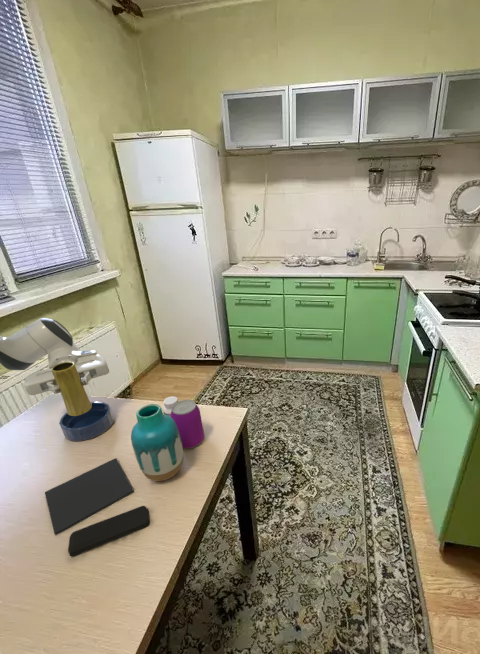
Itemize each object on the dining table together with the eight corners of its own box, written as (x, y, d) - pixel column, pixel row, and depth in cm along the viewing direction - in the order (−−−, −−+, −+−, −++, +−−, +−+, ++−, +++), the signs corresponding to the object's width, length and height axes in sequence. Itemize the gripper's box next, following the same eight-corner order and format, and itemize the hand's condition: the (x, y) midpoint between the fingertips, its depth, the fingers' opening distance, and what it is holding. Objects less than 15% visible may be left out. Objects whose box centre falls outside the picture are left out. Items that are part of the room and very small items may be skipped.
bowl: (69, 448, 90) (64, 436, 88) (61, 426, 99) (55, 414, 97) (119, 427, 98) (115, 415, 96) (107, 408, 107) (103, 396, 105)
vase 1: (66, 418, 88) (46, 374, 82) (69, 406, 94) (51, 363, 87) (91, 412, 91) (74, 368, 84) (93, 401, 96) (77, 358, 89)
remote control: (148, 509, 73) (70, 537, 67) (147, 503, 72) (68, 531, 66) (150, 527, 69) (68, 558, 63) (149, 521, 68) (65, 553, 62)
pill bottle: (172, 417, 101) (166, 394, 97) (187, 418, 100) (182, 395, 96) (163, 429, 96) (157, 404, 92) (180, 430, 96) (174, 405, 92)
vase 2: (136, 470, 82) (116, 409, 74) (176, 450, 88) (162, 391, 80) (152, 496, 75) (132, 432, 66) (194, 472, 81) (180, 411, 73)
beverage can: (194, 453, 87) (186, 418, 82) (171, 446, 90) (162, 411, 84) (210, 435, 94) (204, 401, 88) (188, 429, 96) (181, 395, 91)
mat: (55, 535, 67) (54, 533, 67) (45, 493, 77) (44, 492, 76) (134, 491, 77) (133, 490, 76) (116, 459, 86) (116, 457, 86)
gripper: (20, 368, 91) (19, 389, 81) (101, 348, 102) (108, 365, 91) (29, 387, 94) (28, 410, 84) (106, 366, 104) (114, 384, 94)
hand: (71, 386), depth 88 cm, fingers closed on vase 1, 5 cm apart
